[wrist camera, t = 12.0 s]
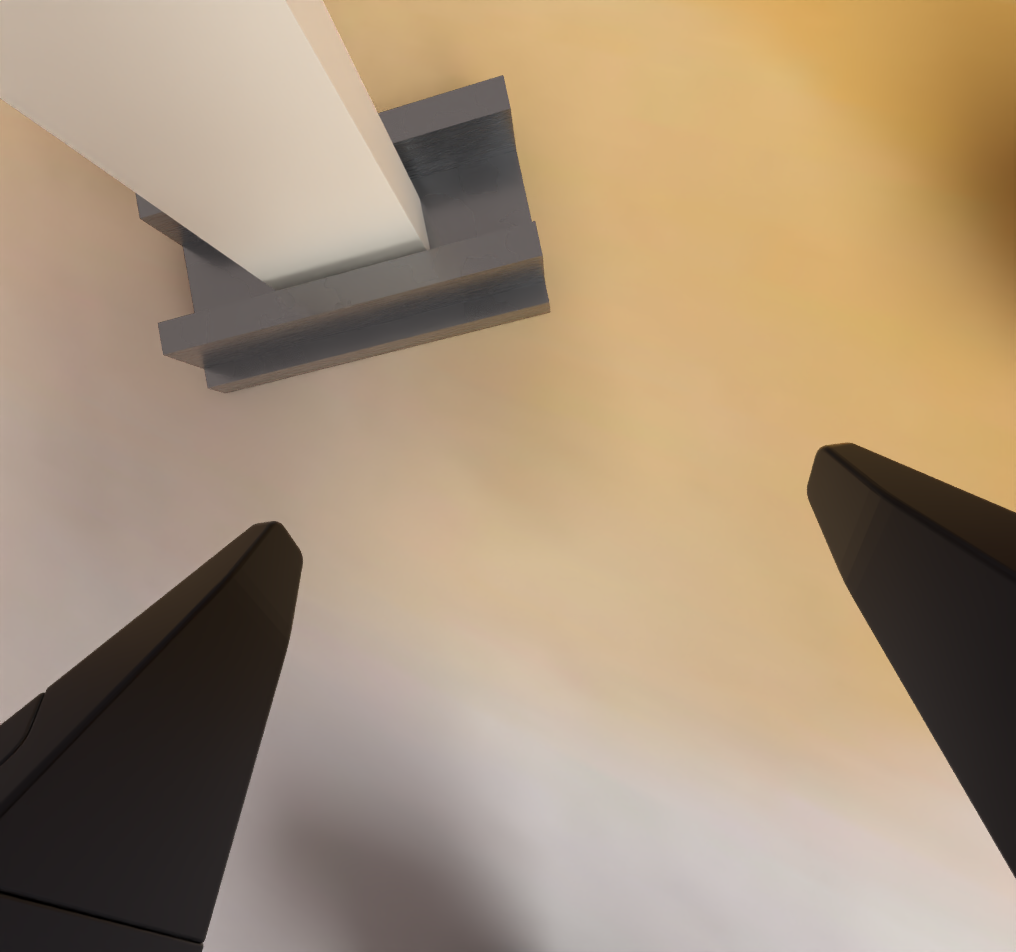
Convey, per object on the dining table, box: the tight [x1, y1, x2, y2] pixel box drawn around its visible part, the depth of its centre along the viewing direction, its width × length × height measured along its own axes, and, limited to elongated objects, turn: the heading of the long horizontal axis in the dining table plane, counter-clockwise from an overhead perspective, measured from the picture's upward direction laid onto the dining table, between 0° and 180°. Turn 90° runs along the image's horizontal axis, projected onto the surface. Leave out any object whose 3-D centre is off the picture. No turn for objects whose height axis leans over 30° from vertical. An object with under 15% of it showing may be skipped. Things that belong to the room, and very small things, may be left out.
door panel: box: [0, 0, 430, 291], centre depth 12 cm, size 3×6×13 cm, turn 102°
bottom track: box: [136, 75, 550, 393], centre depth 18 cm, size 8×14×3 cm, turn 102°
